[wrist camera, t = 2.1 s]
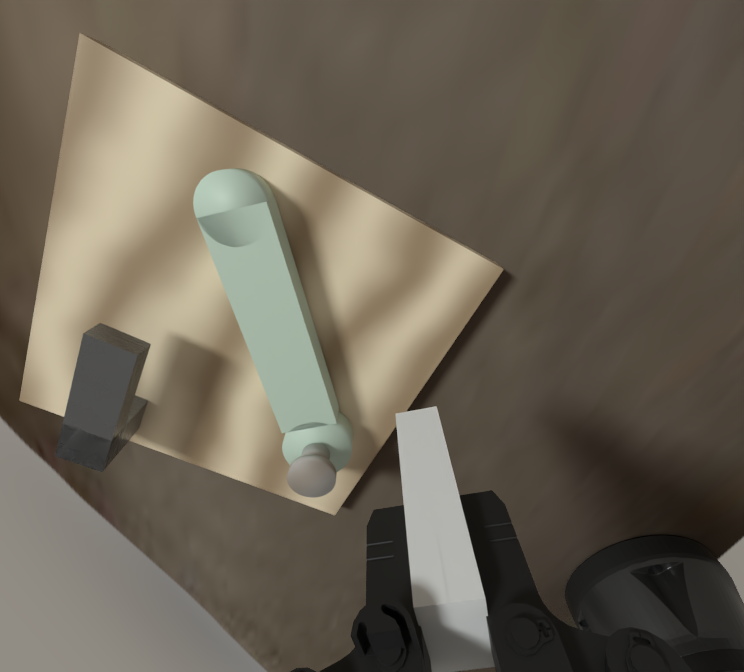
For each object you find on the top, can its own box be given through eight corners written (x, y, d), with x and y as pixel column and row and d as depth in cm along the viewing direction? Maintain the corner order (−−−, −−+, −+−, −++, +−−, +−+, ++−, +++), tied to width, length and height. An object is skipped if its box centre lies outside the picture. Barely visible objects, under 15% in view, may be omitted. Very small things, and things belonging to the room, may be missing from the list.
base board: (497, 263, 26) (534, 296, 20) (336, 501, 35) (328, 572, 29) (98, 40, 21) (-12, -5, 15) (35, 389, 30) (-48, 447, 24)
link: (359, 451, 31) (358, 470, 29) (298, 461, 31) (294, 480, 29) (272, 158, 22) (263, 159, 20) (188, 179, 22) (171, 181, 20)
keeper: (173, 324, 26) (137, 355, 22) (138, 428, 30) (102, 472, 26) (129, 304, 26) (83, 333, 22) (99, 414, 29) (55, 456, 25)
